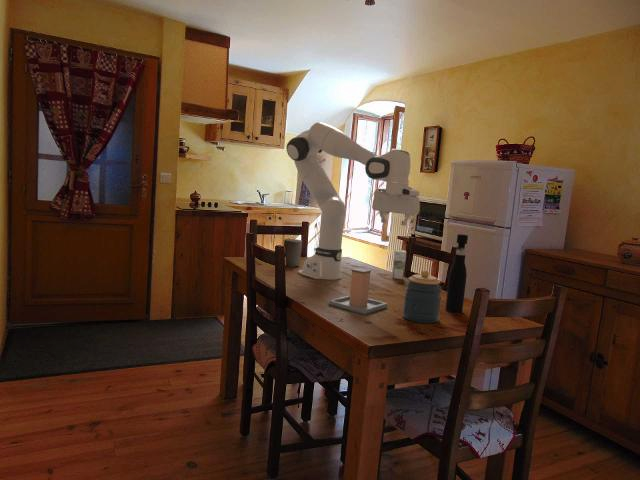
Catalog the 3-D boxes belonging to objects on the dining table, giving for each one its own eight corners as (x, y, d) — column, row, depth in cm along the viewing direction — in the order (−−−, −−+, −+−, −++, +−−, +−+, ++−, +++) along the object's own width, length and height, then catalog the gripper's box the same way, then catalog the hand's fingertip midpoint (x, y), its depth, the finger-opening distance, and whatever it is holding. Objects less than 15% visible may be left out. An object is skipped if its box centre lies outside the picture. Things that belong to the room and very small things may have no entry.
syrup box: (402, 277, 244) (405, 249, 242) (403, 280, 238) (406, 251, 236) (391, 276, 244) (394, 248, 242) (392, 278, 238) (394, 250, 237)
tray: (328, 305, 179) (329, 300, 179) (352, 298, 192) (353, 294, 192) (364, 315, 170) (364, 310, 169) (386, 307, 182) (387, 303, 182)
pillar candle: (279, 265, 249) (282, 237, 247) (284, 262, 259) (286, 235, 257) (298, 268, 248) (300, 239, 246) (301, 264, 257) (304, 237, 255)
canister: (415, 324, 163) (421, 274, 161) (395, 313, 175) (399, 266, 172) (446, 322, 168) (451, 274, 166) (424, 312, 180) (429, 266, 178)
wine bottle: (459, 314, 181) (468, 236, 177) (443, 310, 184) (452, 234, 181) (464, 311, 187) (473, 235, 183) (448, 307, 190) (456, 233, 186)
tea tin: (348, 304, 180) (351, 269, 178) (356, 302, 184) (359, 268, 183) (360, 307, 177) (363, 271, 175) (367, 305, 181) (370, 270, 179)
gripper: (370, 187, 195) (367, 221, 197) (415, 191, 183) (412, 227, 185) (378, 188, 200) (375, 220, 202) (423, 192, 188) (419, 226, 190)
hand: (393, 223), depth 193 cm, fingers open, 8 cm apart
